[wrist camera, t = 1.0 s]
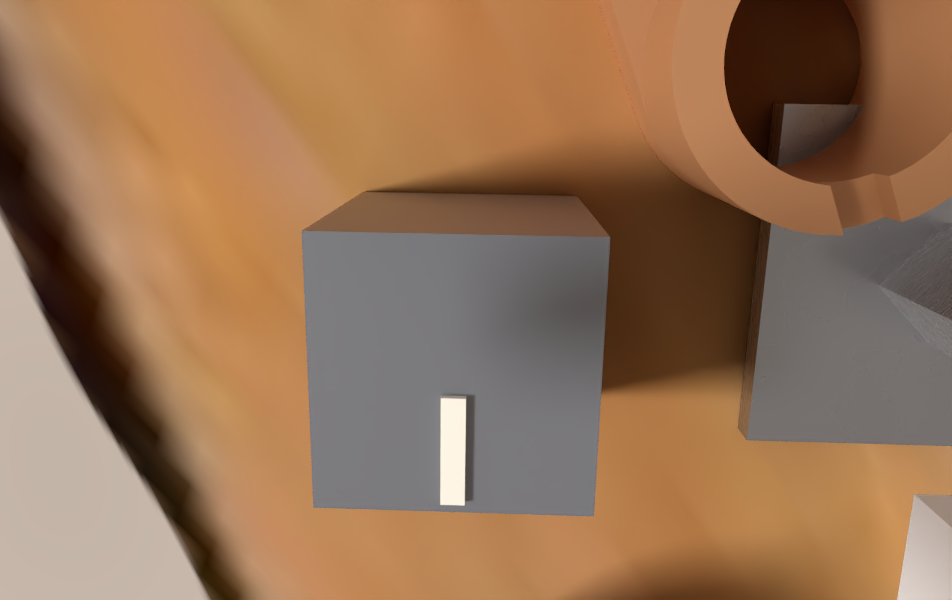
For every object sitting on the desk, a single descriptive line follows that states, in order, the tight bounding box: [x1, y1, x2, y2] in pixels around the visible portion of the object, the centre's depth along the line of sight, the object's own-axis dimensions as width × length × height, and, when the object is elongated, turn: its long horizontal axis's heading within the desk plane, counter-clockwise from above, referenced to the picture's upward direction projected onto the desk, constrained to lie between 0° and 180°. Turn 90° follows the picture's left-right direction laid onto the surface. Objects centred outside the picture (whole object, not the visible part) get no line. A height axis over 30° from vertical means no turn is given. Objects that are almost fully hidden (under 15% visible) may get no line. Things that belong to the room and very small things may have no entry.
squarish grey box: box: [302, 192, 610, 516], centre depth 22 cm, size 7×7×8 cm
